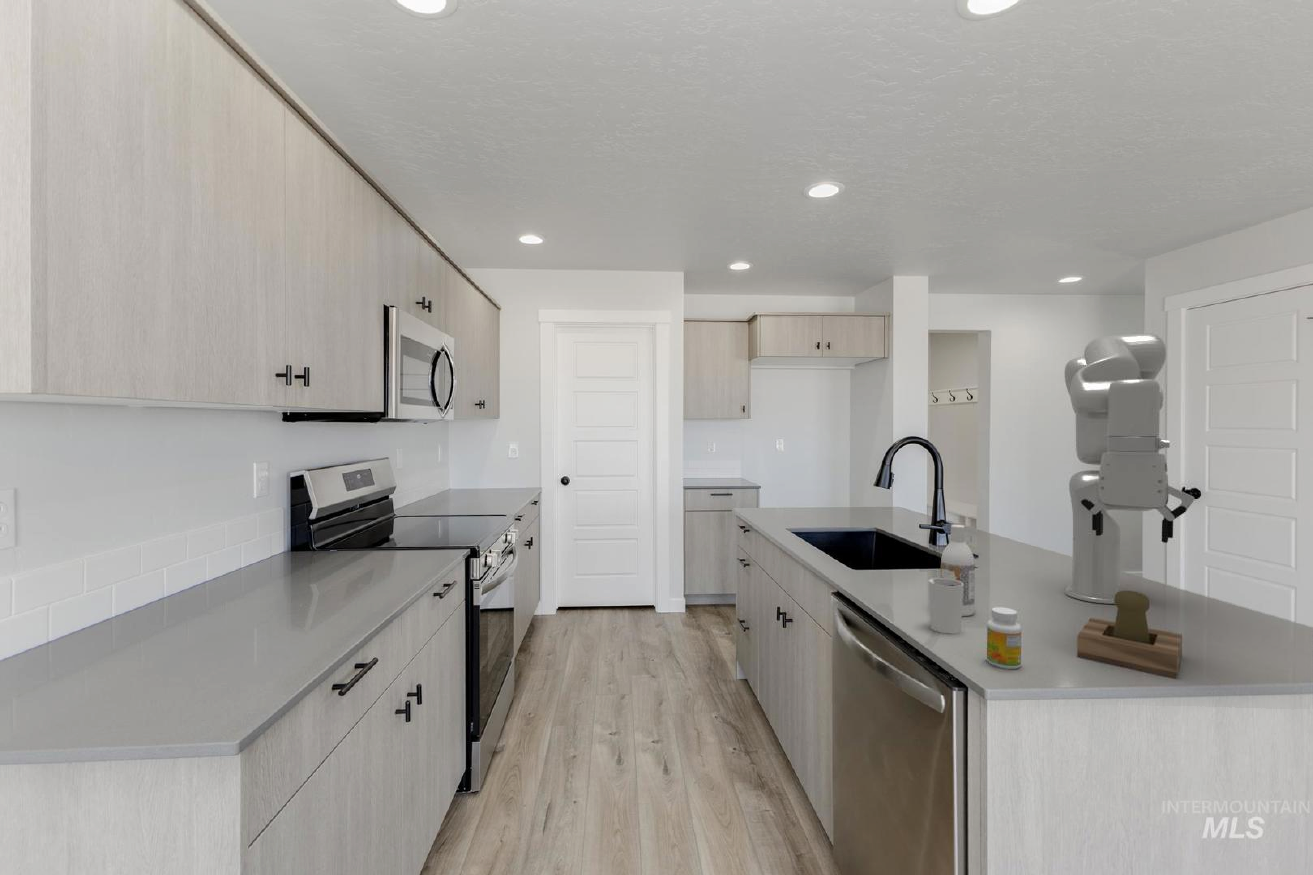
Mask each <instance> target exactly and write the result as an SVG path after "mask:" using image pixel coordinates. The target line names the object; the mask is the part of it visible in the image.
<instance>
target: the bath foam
mask: <svg viewBox="0 0 1313 875" xmlns="http://www.w3.org/2000/svg"><path fill="white" fill-rule="evenodd" d="M974 557H975V556H974V554H973V551H972V550H971V548H970V547H969V545H968V543H966V526H965V525H962V524H951V526H950V541H949V543H948V544H947V545H946V546H945V548H944V549H943V551H942V554H941V559H940V560H941V561H940V578H946V579H953V580H957V581H960V582H962V583H963V584H964V586H963V603H962V617H968V616H972V615H974V613H975V595H976V594H975V588H976V587H975V585H976V583H975V580H976V578H975V577H976V576H975V574H976V572H975V571H976V566H975V565H976V563H975V562H976V561H975V558H974Z"/></svg>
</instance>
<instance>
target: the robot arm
mask: <svg viewBox="0 0 1313 875" xmlns="http://www.w3.org/2000/svg"><path fill="white" fill-rule="evenodd" d="M1166 356H1167V349H1166V345H1165V342H1164V340H1163V339H1162V338H1161V337H1160V336H1159V335H1157V334H1154V333H1151V332H1150V333H1147V332H1145V333H1131V334H1128V333H1127V334H1113V335H1112V334H1111V335H1103V336H1100V337H1097V338H1094V339H1093V340H1091V341H1089V343H1088V344H1087V345H1086V347H1085V348H1084V351H1083V356H1079V357H1075V358H1073V359H1070V360H1069V361H1068V362H1067V363H1066V364H1065V367H1064V382H1065V386H1066V389H1067V390H1066V391H1067V393H1068V395H1069V397H1070V402H1071V406H1072V409H1073V412H1074V414H1075V443H1076V444H1075V447H1076V448H1075V450H1076V456H1077V458H1078V460H1079V461H1080V463H1083V464H1086V465H1093V466H1095V465H1096V466H1099V469H1098V470H1097V469H1096V470H1092V469H1091V470H1083V471H1081V470H1080V471H1077V472H1076V473H1074V474H1073V475H1072V476H1071V477H1070V479H1069V482H1068V485H1069V486H1068V487H1069V488H1068V490H1069V495H1070V503H1071V510H1072V577H1071V578H1072V580H1071V581H1072V582H1071V585H1069V586H1066V587H1065V589H1064V593H1065V594H1066V595H1067V596H1069V597H1071V598H1074V599H1077V600H1079V601H1080V600H1082V601H1084V602H1091V603H1096V604H1107V605H1110V604H1112V605H1113V604H1114V605H1115V602H1114V597H1115V594H1116V593H1117V592H1119V591H1120V573H1121V571H1120V569H1121V568H1120V566H1121V565H1120V564H1121V562H1120V560H1121V553H1120V552H1121V529H1120V526H1119V524H1118V522H1117V521H1116V520H1115V519H1114V518H1113V517H1111V516H1110V514H1109V513H1108V511H1129V512H1130V511H1131V512H1148V511H1153V510H1157V511H1158V513H1159V514H1161V515H1162V516H1163V519H1162V520H1161V542H1163V543H1164V544H1167V543H1168V542H1169V539H1173V538H1174V521H1175V519H1177V518H1179V517H1180V516H1182V515H1184V513H1185V514H1186V512H1187V510H1188V509H1189V508H1190V507H1191V506H1192V504H1193V502H1194V501H1195V497H1194V496H1192V495H1190V494H1188V493H1186V492H1184V491H1181V490H1180V489H1177V488H1175V487H1173V486H1170V485H1169V477H1168V476H1169V475H1168V473H1169V472H1168V466H1167V460H1166V457H1165V456H1166V455H1165V454H1164V453H1160V450H1162V449H1166V448H1167V449H1168V448H1170V442H1171V441H1170V440H1164V439H1162V438H1160V411H1161V410H1162V408H1163V404H1164V393H1163V390H1162V388H1161V386H1160V383H1159V382H1158V381H1157V380H1156V378H1157V376H1158V375H1159V373H1160V372H1161V370H1162V368H1163V367H1164V364H1165V362H1166V359H1167V358H1166ZM1169 495H1170V496H1172V497H1174V498H1177V499H1179V500H1180V501H1181V503H1180V504H1179V506H1177V507H1176V508H1174V509H1173V510H1172V509H1171V508H1169V507H1168V503H1169Z"/></svg>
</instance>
